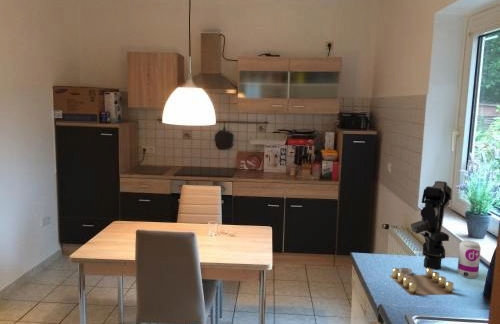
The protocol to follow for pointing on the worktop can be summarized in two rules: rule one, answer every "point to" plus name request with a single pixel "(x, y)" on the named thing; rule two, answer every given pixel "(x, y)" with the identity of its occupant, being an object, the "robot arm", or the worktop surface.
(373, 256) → the worktop surface
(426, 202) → the robot arm
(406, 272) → the steel nut
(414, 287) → the brass spacers
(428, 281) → the board
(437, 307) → the worktop surface
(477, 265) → the supplement can
